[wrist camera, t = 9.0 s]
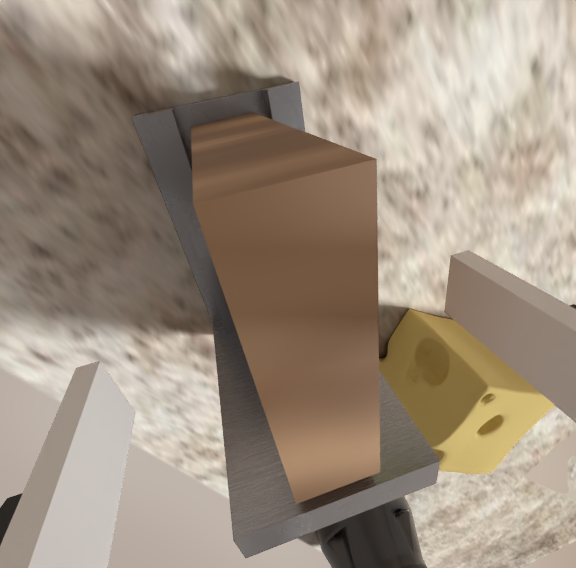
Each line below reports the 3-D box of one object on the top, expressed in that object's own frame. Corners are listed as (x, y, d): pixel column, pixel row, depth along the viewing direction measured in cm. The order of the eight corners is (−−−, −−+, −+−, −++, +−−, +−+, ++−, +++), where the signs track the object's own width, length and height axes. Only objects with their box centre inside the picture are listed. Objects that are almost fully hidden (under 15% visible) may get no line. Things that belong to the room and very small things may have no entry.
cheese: (354, 383, 34) (408, 479, 25) (409, 300, 29) (494, 383, 21) (425, 391, 38) (490, 476, 30) (481, 319, 34) (576, 395, 25)
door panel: (289, 289, 24) (380, 471, 13) (244, 302, 24) (296, 503, 12) (253, 112, 18) (376, 159, 6) (190, 126, 17) (193, 204, 6)
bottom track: (324, 303, 27) (435, 483, 15) (219, 335, 26) (245, 558, 14) (294, 81, 18) (515, 67, 6) (133, 115, 17) (-13, 185, 5)
